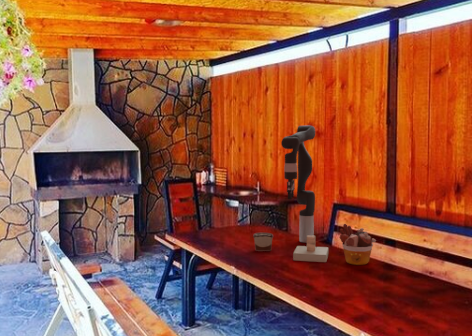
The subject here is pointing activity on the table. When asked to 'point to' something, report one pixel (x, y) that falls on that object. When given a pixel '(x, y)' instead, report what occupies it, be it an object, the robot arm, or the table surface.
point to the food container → (263, 241)
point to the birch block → (310, 243)
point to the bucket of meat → (356, 245)
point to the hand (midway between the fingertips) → (290, 198)
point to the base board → (310, 254)
